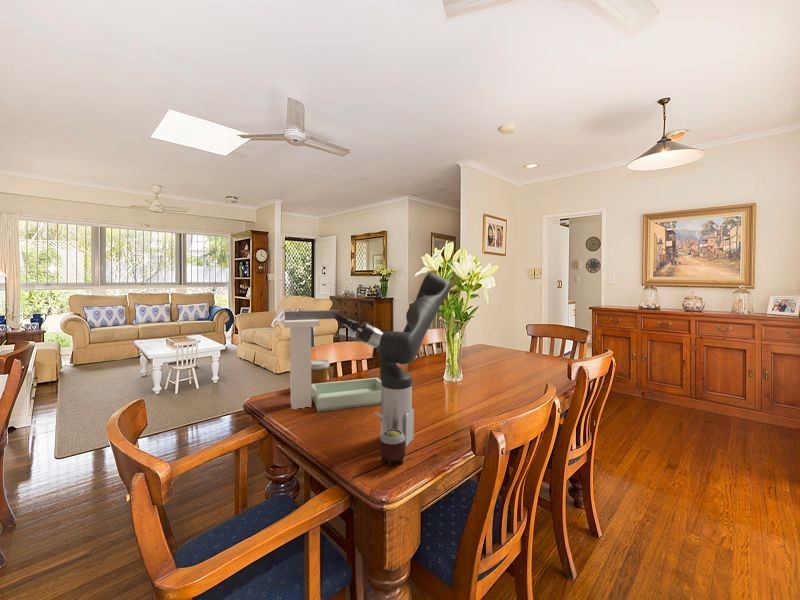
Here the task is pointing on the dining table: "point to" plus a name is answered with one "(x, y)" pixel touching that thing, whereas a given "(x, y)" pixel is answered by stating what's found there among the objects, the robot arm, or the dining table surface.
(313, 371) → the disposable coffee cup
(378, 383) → the tray
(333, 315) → the bar
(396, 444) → the mate gourd
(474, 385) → the dining table surface
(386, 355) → the robot arm
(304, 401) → the stand
